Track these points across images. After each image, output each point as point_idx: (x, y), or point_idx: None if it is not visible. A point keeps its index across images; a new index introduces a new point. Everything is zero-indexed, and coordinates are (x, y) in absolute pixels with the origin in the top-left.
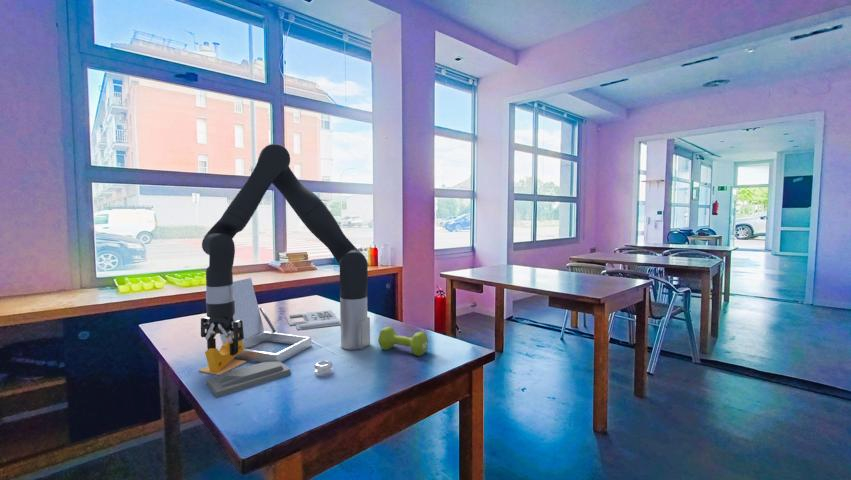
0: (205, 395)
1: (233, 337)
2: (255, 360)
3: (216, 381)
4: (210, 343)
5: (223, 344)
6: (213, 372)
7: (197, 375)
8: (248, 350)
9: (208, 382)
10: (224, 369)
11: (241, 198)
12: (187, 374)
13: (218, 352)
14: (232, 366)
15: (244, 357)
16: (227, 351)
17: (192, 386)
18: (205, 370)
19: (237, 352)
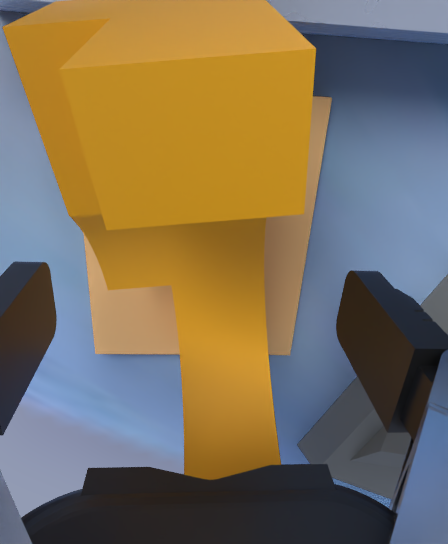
0: (379, 502)
1: (424, 409)
2: (402, 40)
3: (383, 466)
4: (18, 385)
5: (62, 192)
6: None
7: (147, 387)
8: (340, 12)
9: (342, 478)
10: (268, 297)
11: None
12: (70, 395)
13: (276, 436)
14: (288, 237)
15: None
16: (215, 249)
17: None
18: (147, 346)
19: (376, 271)
